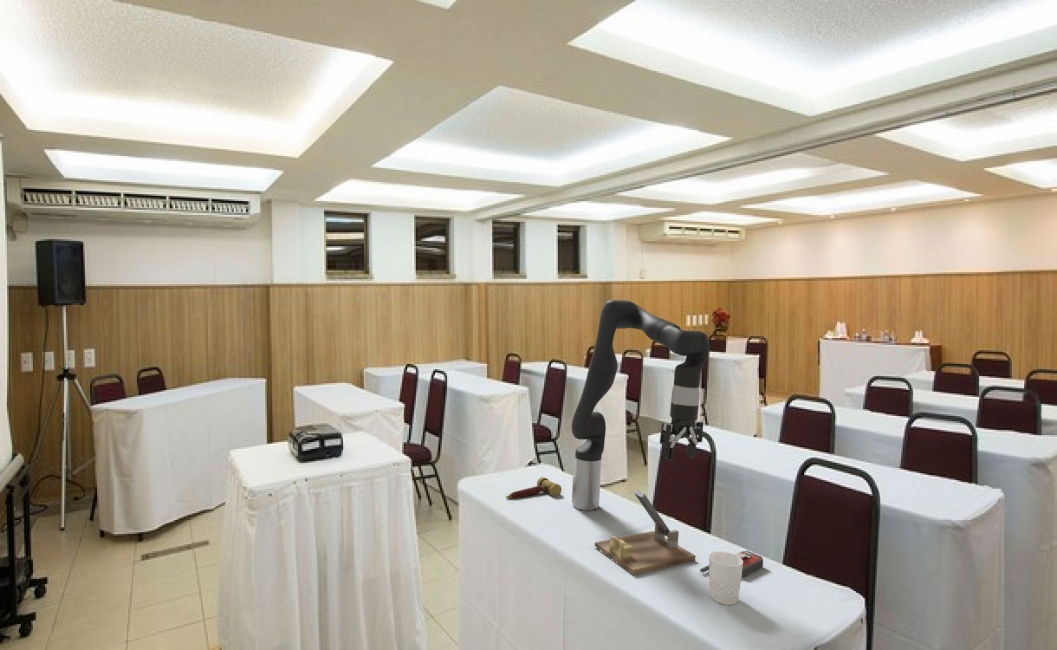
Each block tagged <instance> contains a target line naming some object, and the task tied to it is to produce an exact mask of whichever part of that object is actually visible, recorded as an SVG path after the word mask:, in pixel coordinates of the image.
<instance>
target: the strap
mask: <svg viewBox="0 0 1057 650" xmlns="http://www.w3.org/2000/svg"><path fill="white" fill-rule="evenodd" d="M633 494H634V495H635V497H636V498H637V499H638V501H639V502H640V504H641V505H642V507H643V508H644V509H645V511H646V513H647V514H648V515H649V517H650V518H651V519H652V521H653V522H654V525H655V524H656V525H657V527H658V528H659V530H661V531H660V532H661V533H662V534H663V535H665V537H666V538H668V531H671V530H670V529H669V527H668V525H667V524H666V522H665V521H664V520H663V519H662V517H661V515H660V514H659V512H657V510H656V508H655V507H654V506H653V504H652V503H651V501H650V500H649V499H648V497H647V496H646V494H645V493H643V492H641V491H639V490H637V489H636V490H635V492H633Z"/></svg>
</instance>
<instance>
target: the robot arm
mask: <svg viewBox="0 0 1057 650" xmlns="http://www.w3.org/2000/svg"><path fill="white" fill-rule="evenodd" d="M598 322H599V324H598V330H597V336H596V341H595V344H594V345H595V346H594V348H593V353H592V357H591V360H590V363H589V367H588V370H587V374H586V379H585V382H584V385H583V389H582V393H581V397H580V398H579V401H578V403H577V404H578V405H577V406H576V409H575V411H574V414H573V417H572V422H571V434H572V435H573V437H574V438H575V439H577V440H582V441H583V440H584V441H585V440H586V441H585V442H584V443H583V444H581V445H580V446H578V447H577V448H576V449H575V453H574V455H575V456H574V474H573V475H574V476H572V490H571V491H572V492H571V494H572V495H571V503H572V506H573V507H574V508H575V509H578V510H581V509H582V510H581V511H595V510H594V509H596V510H598V509H599V508H600V497H601V477H602V475H601V473H602V456H603V453H604V450H605V439H606V434H607V433H606V430H607V427H606V426H607V425H606V424H607V423H606V419H605V417H604V414H602V413H601V412H599V411H594V410H595V408H596V406H597V404H598V403H599V402H600V401H601V400H602V399H603V398H604V396H605V395H606V394H607V393H608V392H610V389H611V388H612V386H613V384H614V381H615V379H616V375H617V372H618V368H619V366H618V365H619V364H618V359H617V356H616V353H615V350H614V344H613V342H614V339H615V333H616V331H617V329H618V330H619V329H622V330H623V329H625V330H626V329H634V330H635V329H636V330H640V331H642V332H643V333H644V334H645V335H646V337H647V338H648V339H650V340H652V341H654V342H656V343H658V344H660V345H662V346H665V347H666V349H668V350H669V351H671V352H672V353H673V354H676V355H678V356H681V357H682V356H683V357H686V358H685V360H684V362H681V363H680V364H677V365H676V366H675V369H674V374H673V387H672V391H671V397H670V409H669V410H670V411H669V417H670V418H671V422H670V423H667V422H662V423H661V430H660V437H659V444H661V445H663V446H664V458H665V460H666V461H668V462H671V461H673V460H674V447H675V445H676V443H677V442H679V441H680V439H686V440H687V442H688V443H687V451H686V452H687V453H686V457H688V458H690V459H694V458H695V456H696V451H697V445H698V444H699V443H703V439H704V438H703V437H704V436H703V435H704V434H703V433H704V422H703V421H701V420H698V418H699V409H700V407H699V406H700V398H701V397H700V396H701V395H700V387H701V386H700V384H701V373H702V370H703V368H704V365H705V363H706V361H707V357H708V354H709V351H710V340H709V337H708V335H707V334H706V332H703V331H700V330H686V329H685V330H684V329H682V328H681V327H680V325H678V324H676V323H674V322H672V321H669V320H666V319H664V318H661V317H658V316H656V315H654V314H652V313H650V312H648V311H647V310H645V309H643V308H642V307H641V306H639V305H637V304H636V303H634V302H633V301H630V300H622V299H621V300H620V299H610V300H607V301H606V302H605V303H604V305H603V307H602V309H601V312H600V316H599V321H598ZM598 507H599V508H598ZM597 508H598V509H597Z"/></svg>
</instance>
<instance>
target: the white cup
mask: <svg viewBox="0 0 1057 650" xmlns="http://www.w3.org/2000/svg"><path fill="white" fill-rule="evenodd" d="M708 558H709V559H708V560H709V561H708V565H709V570H708V580H709V581H708V582H709V583H708V585H709V597H710V598H711V600H713V601H715V602H716V603H718V604H721V605H727V606H732V605H737V603H738V602H739V599H740V598H739V596H740V590H741V583H742V578H741V577H742V567H743V560H742V559H741V558H740V557H738V556H736V555H735V554H734V553H732V552H727V551H714V552H711V553H710V554H709V556H708Z"/></svg>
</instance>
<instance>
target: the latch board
mask: <svg viewBox="0 0 1057 650" xmlns="http://www.w3.org/2000/svg"><path fill="white" fill-rule="evenodd" d="M660 531H661V530H659V528H658V527H657V525H656V524H655V523H654V530H653V531H648V532H642V533H637V534H631V535H627V536H622V537H621V536H620V537H616V536H614V535H611V536H610V539H607V540H606V539H605V540H600V541H597V542H596V541H595V542H594V547H595V546H596V547H597V548H598V549H599V550H601V551H602V552H603V553H604V554H606V555H607V556H609V557H610V558H611V559H613V560H614V561H615V562H617V563H618V564H619V565H618V564H617V563H616V564H617V565H618V566H620V567H621V566H622V567H623V568H622V567H621V568H622V569H623V570H625V569H626V570H627V572H628V573H629V572H630V573H631V574H630V573H629V574H630V575H632V574H633V575H632V576H636V575H635V574H637V575H641V574H645V573H649V572H648V571H650V572H653V570H654V571H657V570H661V569H665V568H670V567H674V566H675V567H676V566H679V565H683V564H687V563H692V562H696V554H694V553H692V552H691V551H688V550H687V549H685V548H683V547H681V546H680V545H679V535H680V534H679V533H680V532H679V530H677V529H674V530H670V531H668V537H666V536H665V535H663V534H662V533H661V532H660ZM598 549H597V550H598ZM599 550H598V551H599ZM602 552H601V553H602ZM603 553H602V554H603ZM604 554H603V555H604ZM606 555H605V556H606ZM607 556H606V557H607ZM609 557H608V558H609ZM610 558H609V559H610ZM611 559H610V560H611ZM613 560H612V561H613ZM614 561H613V562H614ZM615 562H614V563H615ZM626 570H625V571H626ZM640 573H641V574H640Z"/></svg>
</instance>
